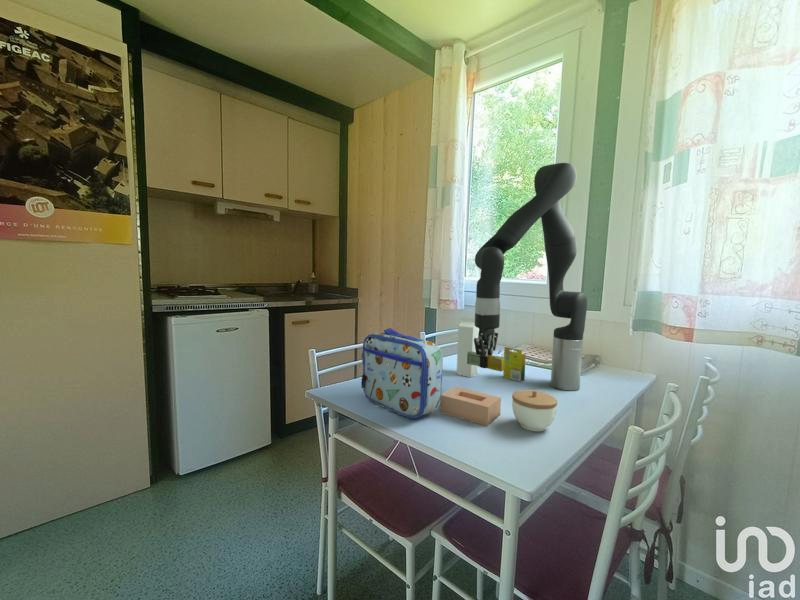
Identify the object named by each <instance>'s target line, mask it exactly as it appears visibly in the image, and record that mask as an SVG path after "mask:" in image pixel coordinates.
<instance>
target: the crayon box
mask: <svg viewBox="0 0 800 600" xmlns="http://www.w3.org/2000/svg"><path fill="white" fill-rule="evenodd" d="M522 351H523V350H522V349H517V348H513V347H512V348H511V347H508V346H505V347H504V353H503V358H505V368H504V371H502V372H503V374H502V375H503V377H502V378H503V379H510V380H512V381H516V382H520V383H521V381H522V382H524V381H525V377H526V375H525V374H526V373H525V372H526V355H527V354H525V353H523V352H522Z"/></svg>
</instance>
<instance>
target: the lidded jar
mask: <svg viewBox="0 0 800 600" xmlns="http://www.w3.org/2000/svg"><path fill="white" fill-rule="evenodd" d="M511 395H512V396H511V397H512V402H511V403H512V405H511V406H512V411H513V415H514V418H515V419H516V421H517V422H518V423H519V424H520V427H522V428H523V429H525V430H527V431H530V432H544V431H545V430H546V429H547V428H548V427H549V426H551V425H552V424H553V422H554V420H555V417H556V412H557V405H558V399H557V398H556V397H555V396H553V395H551V394H549V393H546V392H543V391H538V390H535V389H534V390H533V389H531V390H530V389H521V390H517V391H514V392H513V393H512V394H511Z"/></svg>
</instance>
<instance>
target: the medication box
mask: <svg viewBox="0 0 800 600" xmlns="http://www.w3.org/2000/svg"><path fill="white" fill-rule="evenodd" d="M487 357H488V358H487V368H486V369H489V370H493V371H496V372H503V371H504V368H505V358H504V356H502V357H501V356H498V355H497V356H496V355H493V354H492V355H487ZM467 364H470V365H475V366H478V368H481V367H480V356H479V355H477V354H476V352H473V351H470V352H468V353H467Z"/></svg>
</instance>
